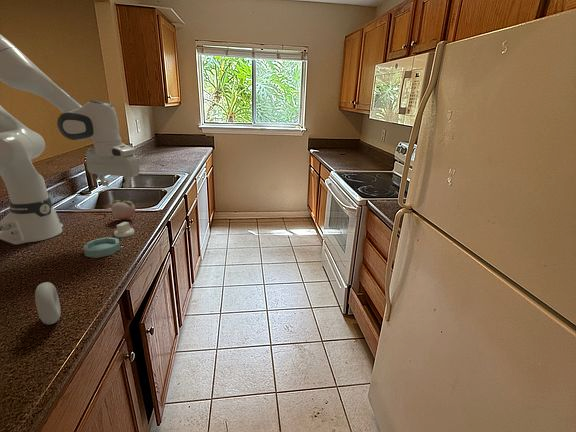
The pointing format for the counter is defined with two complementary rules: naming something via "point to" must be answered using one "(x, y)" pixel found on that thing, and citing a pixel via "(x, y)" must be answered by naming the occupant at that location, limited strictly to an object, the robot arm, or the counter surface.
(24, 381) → the counter surface
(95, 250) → the studded octagonal holder
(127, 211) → the decorative fruit
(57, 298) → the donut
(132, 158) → the robot arm
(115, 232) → the cap
